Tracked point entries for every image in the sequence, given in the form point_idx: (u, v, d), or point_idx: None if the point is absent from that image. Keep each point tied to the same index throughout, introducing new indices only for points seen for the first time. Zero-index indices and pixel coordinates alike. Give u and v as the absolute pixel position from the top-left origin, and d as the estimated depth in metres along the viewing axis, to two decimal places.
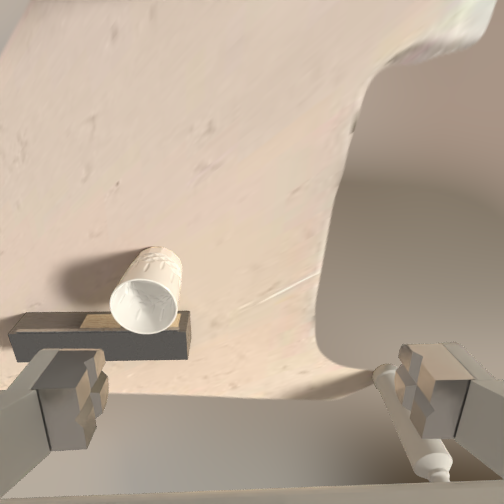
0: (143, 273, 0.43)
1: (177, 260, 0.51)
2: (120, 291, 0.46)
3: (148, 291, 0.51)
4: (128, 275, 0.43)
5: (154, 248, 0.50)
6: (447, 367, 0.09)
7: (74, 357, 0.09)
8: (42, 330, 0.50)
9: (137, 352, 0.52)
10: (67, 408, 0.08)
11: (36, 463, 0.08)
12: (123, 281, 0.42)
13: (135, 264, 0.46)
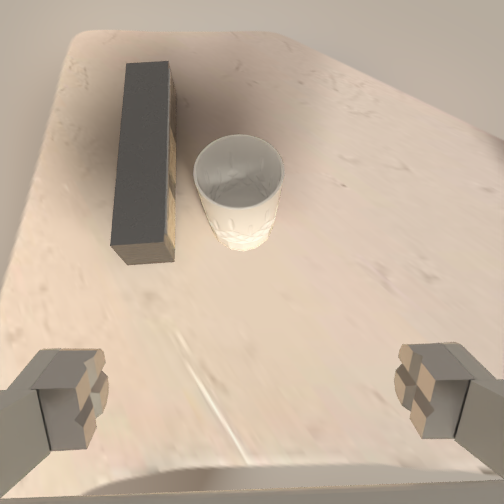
0: None
1: (259, 242, 0.39)
2: (241, 159, 0.36)
3: None
4: None
5: None
6: (447, 367, 0.09)
7: (74, 357, 0.09)
8: (170, 91, 0.43)
9: (130, 181, 0.37)
10: (67, 408, 0.08)
11: (36, 463, 0.08)
12: None
13: None
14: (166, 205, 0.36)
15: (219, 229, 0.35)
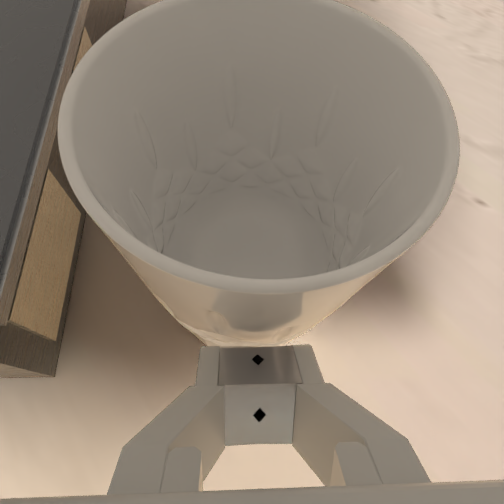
0: None
1: None
2: (263, 98, 0.12)
3: (182, 229, 0.15)
4: None
5: None
6: (281, 370, 0.09)
7: (239, 354, 0.09)
8: None
9: None
10: (248, 403, 0.08)
11: (217, 457, 0.08)
12: None
13: None
14: (18, 224, 0.12)
15: (176, 317, 0.11)
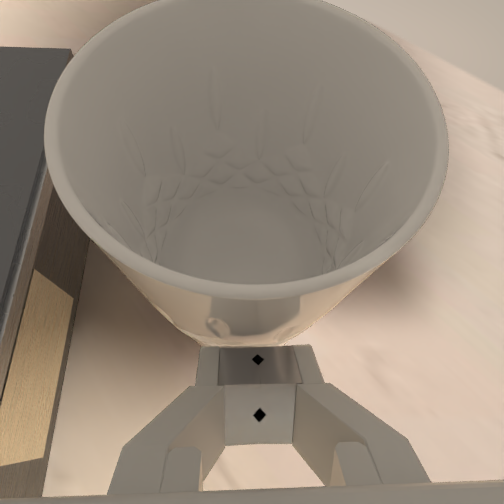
0: None
1: None
2: (248, 99, 0.11)
3: (174, 234, 0.15)
4: None
5: None
6: (281, 370, 0.09)
7: (239, 354, 0.09)
8: None
9: None
10: (248, 404, 0.08)
11: (217, 457, 0.08)
12: None
13: None
14: None
15: (176, 324, 0.11)
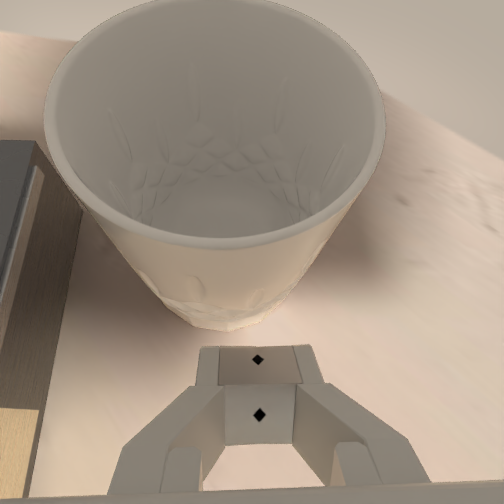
0: None
1: (269, 311, 0.16)
2: (224, 93, 0.13)
3: (160, 219, 0.16)
4: None
5: None
6: (281, 370, 0.09)
7: (239, 354, 0.09)
8: (18, 252, 0.12)
9: None
10: (248, 403, 0.08)
11: (217, 457, 0.08)
12: None
13: None
14: None
15: (161, 294, 0.12)
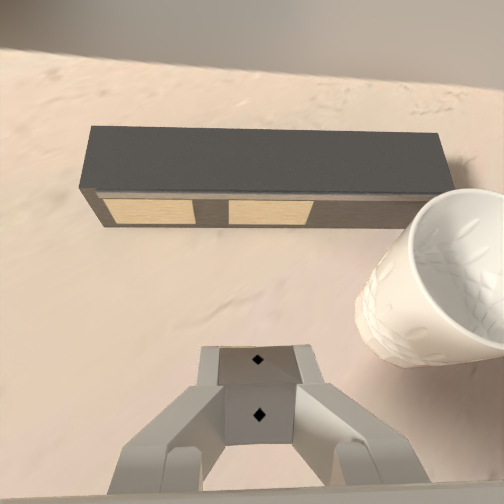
0: None
1: (373, 343, 0.23)
2: None
3: (423, 269, 0.24)
4: None
5: (423, 366, 0.23)
6: (281, 370, 0.09)
7: (239, 354, 0.09)
8: (387, 197, 0.24)
9: (196, 145, 0.24)
10: (248, 403, 0.08)
11: (217, 457, 0.08)
12: None
13: None
14: (147, 192, 0.23)
15: (377, 265, 0.22)
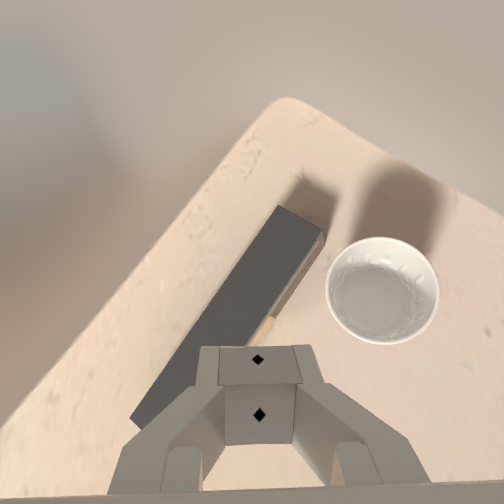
0: None
1: None
2: (400, 259, 0.30)
3: (352, 277, 0.35)
4: None
5: None
6: (281, 370, 0.09)
7: (239, 354, 0.09)
8: (298, 271, 0.34)
9: (186, 362, 0.33)
10: (248, 404, 0.08)
11: (217, 457, 0.08)
12: None
13: None
14: None
15: None
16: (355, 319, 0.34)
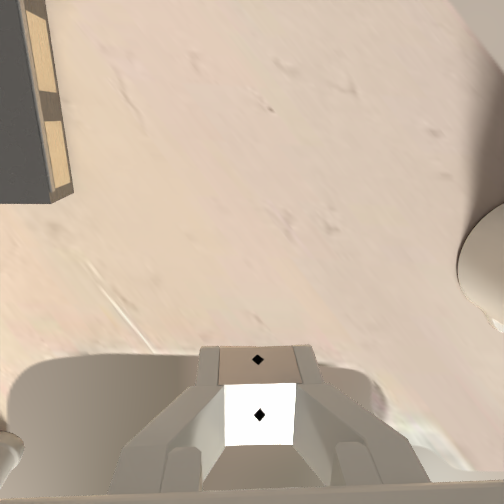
0: None
1: None
2: None
3: None
4: None
5: None
6: (281, 370, 0.09)
7: (239, 354, 0.09)
8: None
9: None
10: (248, 404, 0.08)
11: (217, 457, 0.08)
12: None
13: None
14: (45, 155, 0.31)
15: None
16: None
